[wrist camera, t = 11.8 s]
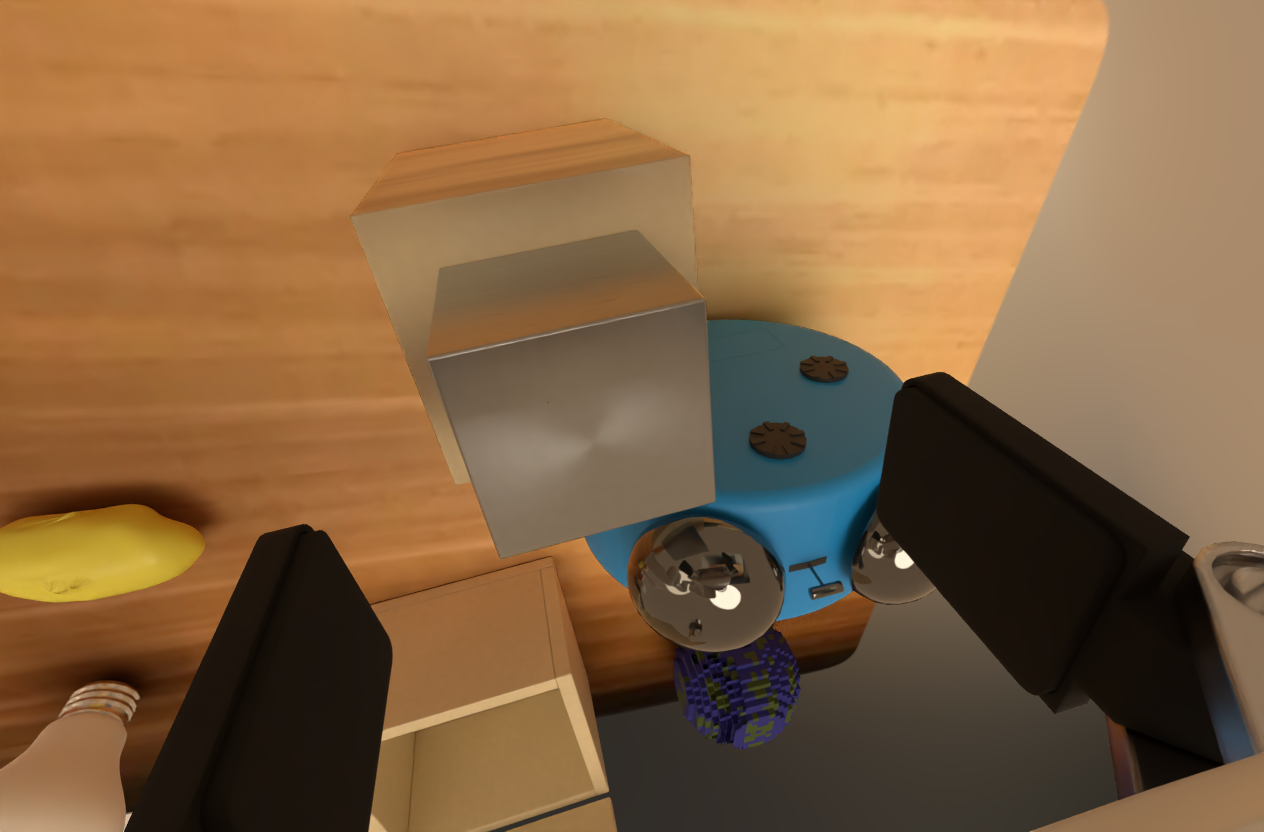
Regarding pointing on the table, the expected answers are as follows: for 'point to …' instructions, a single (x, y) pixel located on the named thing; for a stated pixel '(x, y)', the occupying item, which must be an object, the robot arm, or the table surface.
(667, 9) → the table surface
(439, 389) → the steel block
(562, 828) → the wooden box lid
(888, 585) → the alarm clock
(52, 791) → the light bulb
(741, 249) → the table surface
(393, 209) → the block
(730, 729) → the ball
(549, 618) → the open storage bin
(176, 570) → the yellow potato
